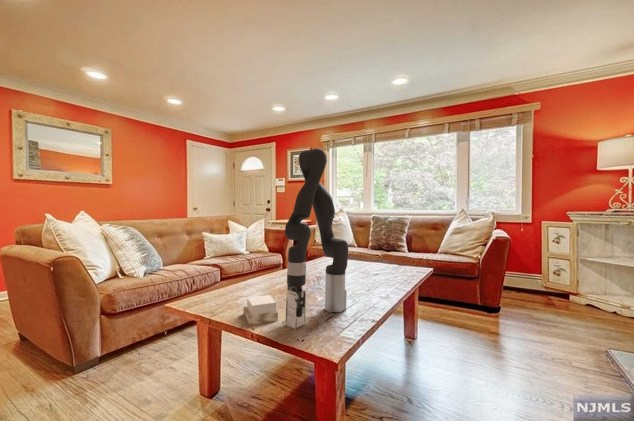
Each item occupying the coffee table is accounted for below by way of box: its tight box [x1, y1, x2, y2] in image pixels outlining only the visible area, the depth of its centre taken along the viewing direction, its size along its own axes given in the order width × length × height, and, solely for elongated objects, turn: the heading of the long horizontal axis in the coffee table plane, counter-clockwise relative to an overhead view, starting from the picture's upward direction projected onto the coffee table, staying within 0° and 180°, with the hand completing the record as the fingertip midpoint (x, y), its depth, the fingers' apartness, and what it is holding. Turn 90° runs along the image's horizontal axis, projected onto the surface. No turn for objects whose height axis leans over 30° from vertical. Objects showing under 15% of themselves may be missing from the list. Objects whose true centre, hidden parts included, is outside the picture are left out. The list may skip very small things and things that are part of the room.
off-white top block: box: [246, 294, 277, 315], centre depth 121 cm, size 10×10×4 cm
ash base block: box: [243, 305, 279, 326], centre depth 121 cm, size 12×12×4 cm
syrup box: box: [284, 288, 307, 330], centre depth 114 cm, size 6×6×14 cm
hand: (295, 312), depth 114 cm, fingers closed on syrup box, 7 cm apart
